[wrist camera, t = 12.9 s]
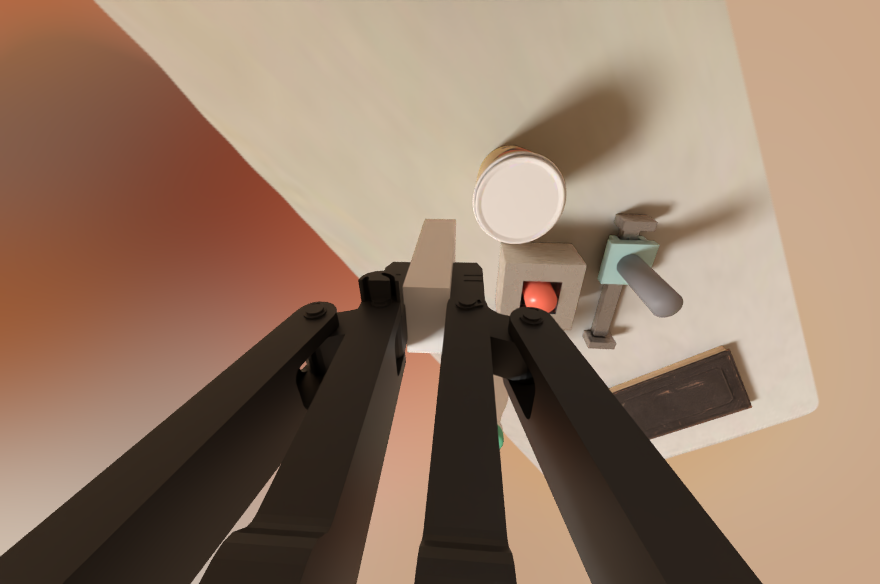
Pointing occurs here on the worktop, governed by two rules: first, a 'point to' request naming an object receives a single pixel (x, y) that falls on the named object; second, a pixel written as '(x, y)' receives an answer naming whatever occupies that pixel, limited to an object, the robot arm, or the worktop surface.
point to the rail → (611, 292)
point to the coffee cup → (518, 195)
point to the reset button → (539, 295)
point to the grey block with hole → (540, 276)
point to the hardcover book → (684, 393)
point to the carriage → (639, 274)
